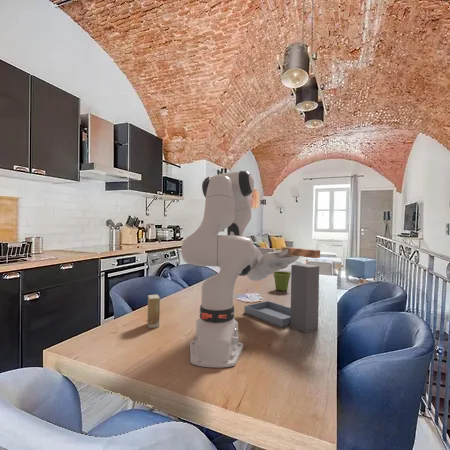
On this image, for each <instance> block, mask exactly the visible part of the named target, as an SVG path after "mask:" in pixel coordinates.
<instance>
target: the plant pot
mask: <svg viewBox="0 0 450 450" xmlns="http://www.w3.org/2000/svg"><path fill="white" fill-rule="evenodd" d="M272 275H273V277H274V285H275V290H276V291H277V290H281V291H280V292H286V291H285V290H287V291H288V287H289V282H290V279H291V272H289V271H280V270H278V271H276V272H274V273H272Z"/></svg>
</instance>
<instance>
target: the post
mask: <svg viewBox="0 0 450 450" xmlns="http://www.w3.org/2000/svg"><path fill="white" fill-rule="evenodd" d="M290 266H291V267H290V268H291V271H290V273H291V275H290V308H291V317H290V326H289V327H291V328H293V329H296V330H298V331H301V332H303V333H309V332H311V331H315V330H317V329H319V306H320V305H319V299H320V298H319V295H320V265H315V264H307V263H299V264H298V263H297V264H292V265H291V264H290Z"/></svg>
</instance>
